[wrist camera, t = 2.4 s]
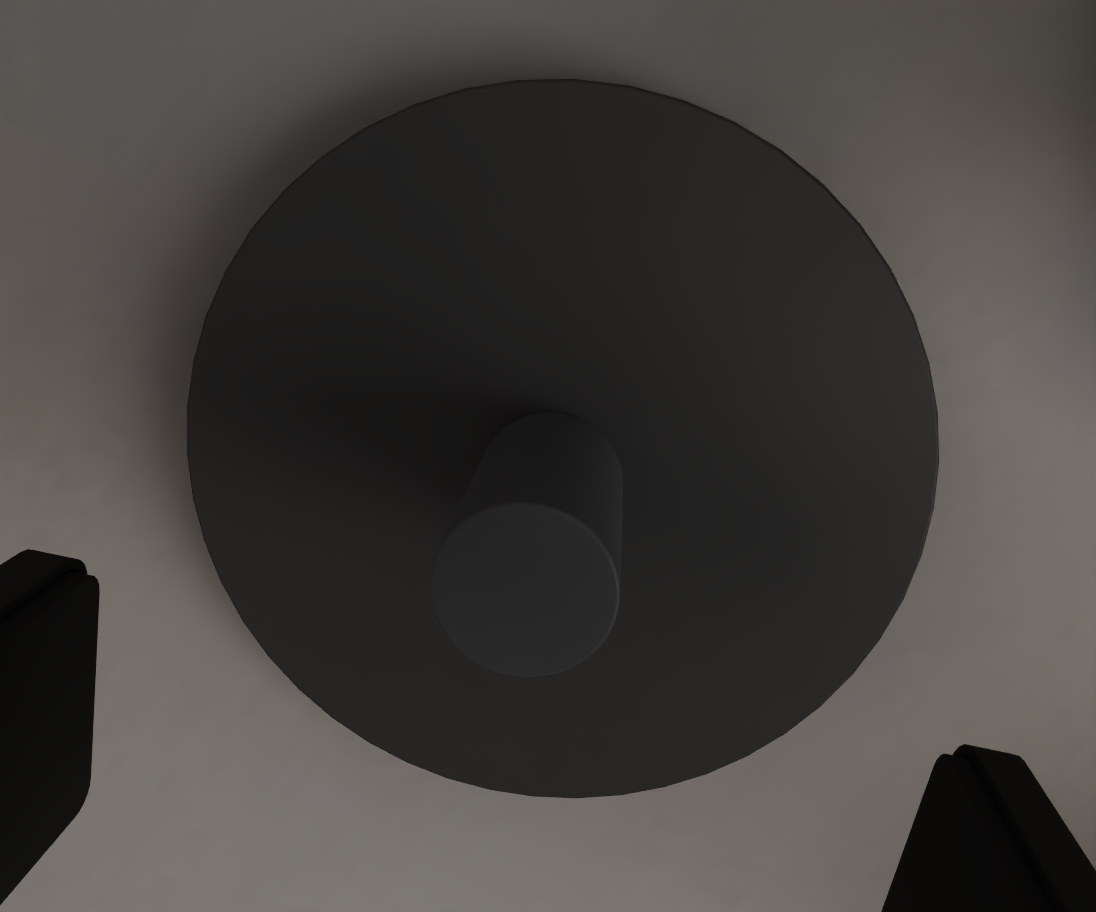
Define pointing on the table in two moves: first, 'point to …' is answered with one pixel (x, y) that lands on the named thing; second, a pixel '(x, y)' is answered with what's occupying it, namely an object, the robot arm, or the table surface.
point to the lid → (562, 438)
